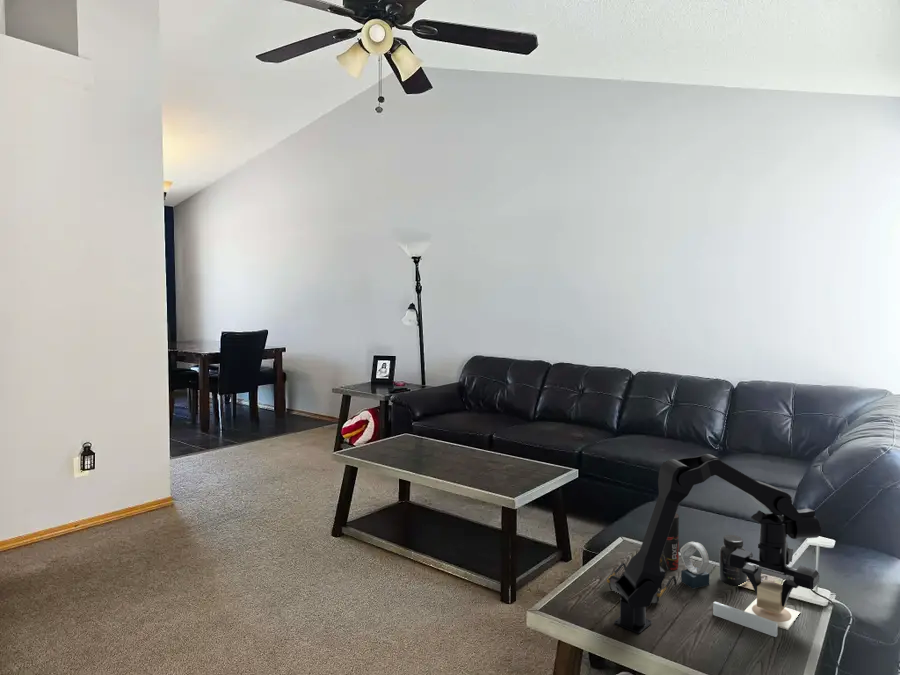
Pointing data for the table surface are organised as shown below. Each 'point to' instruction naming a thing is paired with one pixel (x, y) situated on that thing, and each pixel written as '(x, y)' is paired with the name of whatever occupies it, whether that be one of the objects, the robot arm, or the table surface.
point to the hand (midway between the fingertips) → (771, 602)
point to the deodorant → (671, 548)
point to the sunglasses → (613, 579)
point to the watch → (692, 574)
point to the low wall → (745, 619)
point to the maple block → (770, 596)
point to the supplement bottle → (726, 571)
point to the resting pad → (774, 615)
